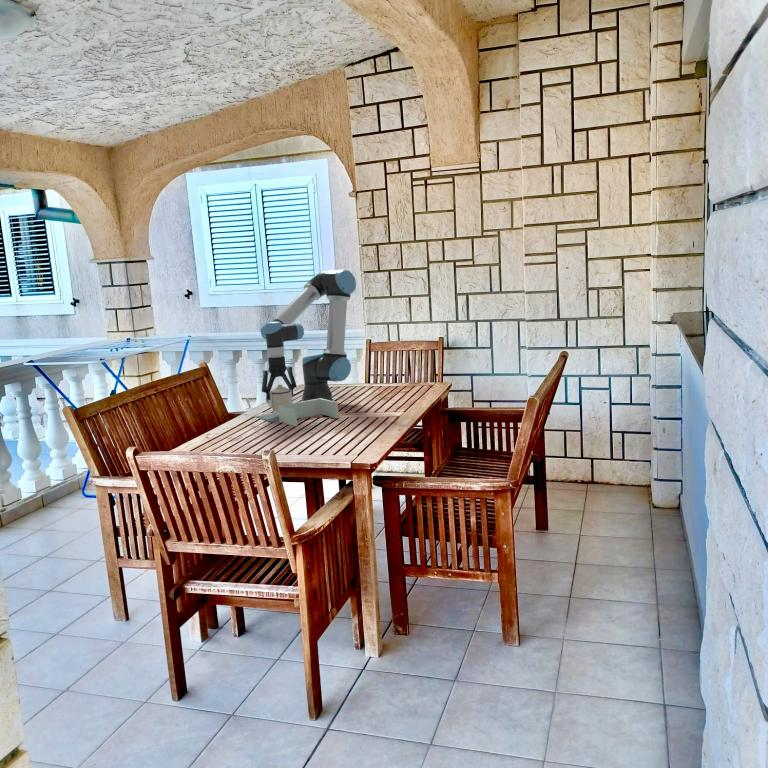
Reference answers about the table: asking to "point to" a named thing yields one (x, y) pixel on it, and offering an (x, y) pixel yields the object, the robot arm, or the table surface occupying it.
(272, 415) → the mat
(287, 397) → the teacup with lid
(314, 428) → the table surface
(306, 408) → the bent sage-green plate
